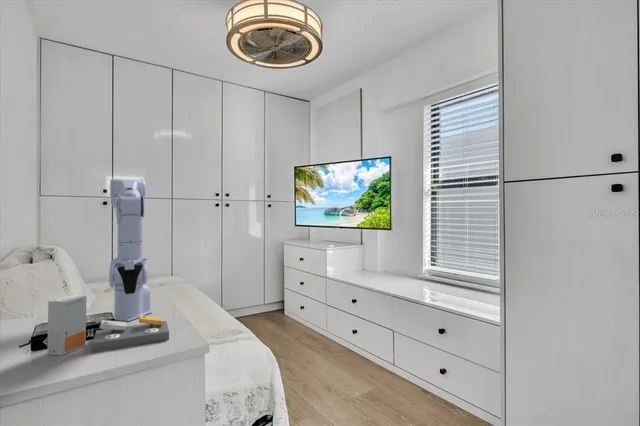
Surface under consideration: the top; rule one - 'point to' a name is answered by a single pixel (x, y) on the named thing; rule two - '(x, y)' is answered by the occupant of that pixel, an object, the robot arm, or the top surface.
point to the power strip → (129, 336)
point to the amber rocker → (151, 320)
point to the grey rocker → (113, 325)
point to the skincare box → (66, 324)
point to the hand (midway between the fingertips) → (130, 293)
